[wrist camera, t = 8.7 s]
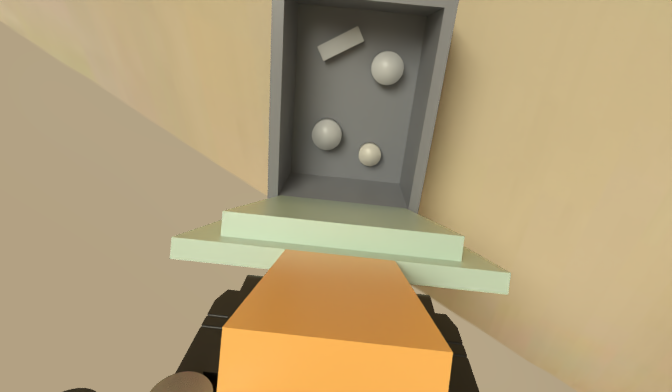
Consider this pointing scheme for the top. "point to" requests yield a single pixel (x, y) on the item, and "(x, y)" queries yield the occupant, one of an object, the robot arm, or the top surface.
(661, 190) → the top surface
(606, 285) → the top surface
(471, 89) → the top surface
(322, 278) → the lid
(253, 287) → the robot arm
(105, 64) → the top surface
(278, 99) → the tub
